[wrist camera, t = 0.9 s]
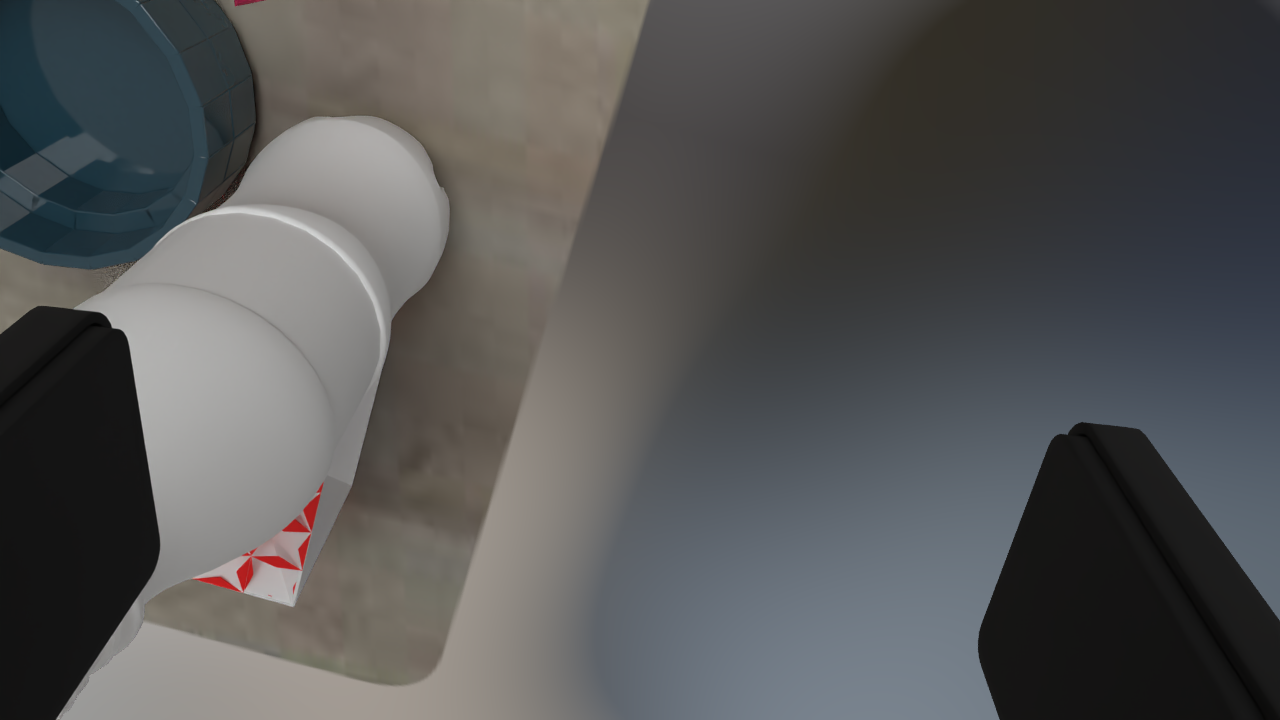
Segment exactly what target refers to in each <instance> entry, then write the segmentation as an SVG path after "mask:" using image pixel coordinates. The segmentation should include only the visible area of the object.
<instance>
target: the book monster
mask: <svg viewBox="0 0 1280 720" xmlns="http://www.w3.org/2000/svg"><path fill="white" fill-rule="evenodd" d="M259 1H264V0H234V2H235V6H239V5H244V4H249V3H254V2H259Z"/></svg>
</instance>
